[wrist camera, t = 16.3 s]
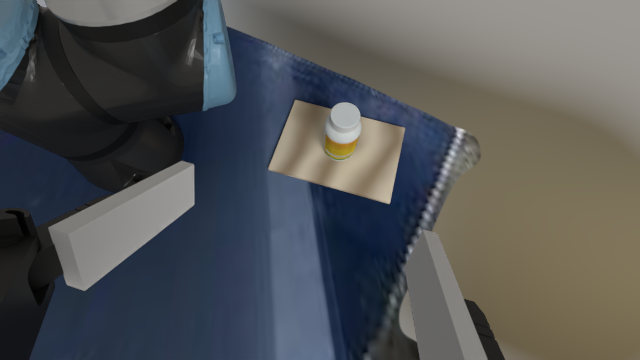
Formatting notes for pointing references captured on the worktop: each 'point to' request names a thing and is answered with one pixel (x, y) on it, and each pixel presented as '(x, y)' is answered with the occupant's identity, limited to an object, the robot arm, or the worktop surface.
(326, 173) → the birch board
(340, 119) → the supplement bottle
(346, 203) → the worktop surface
